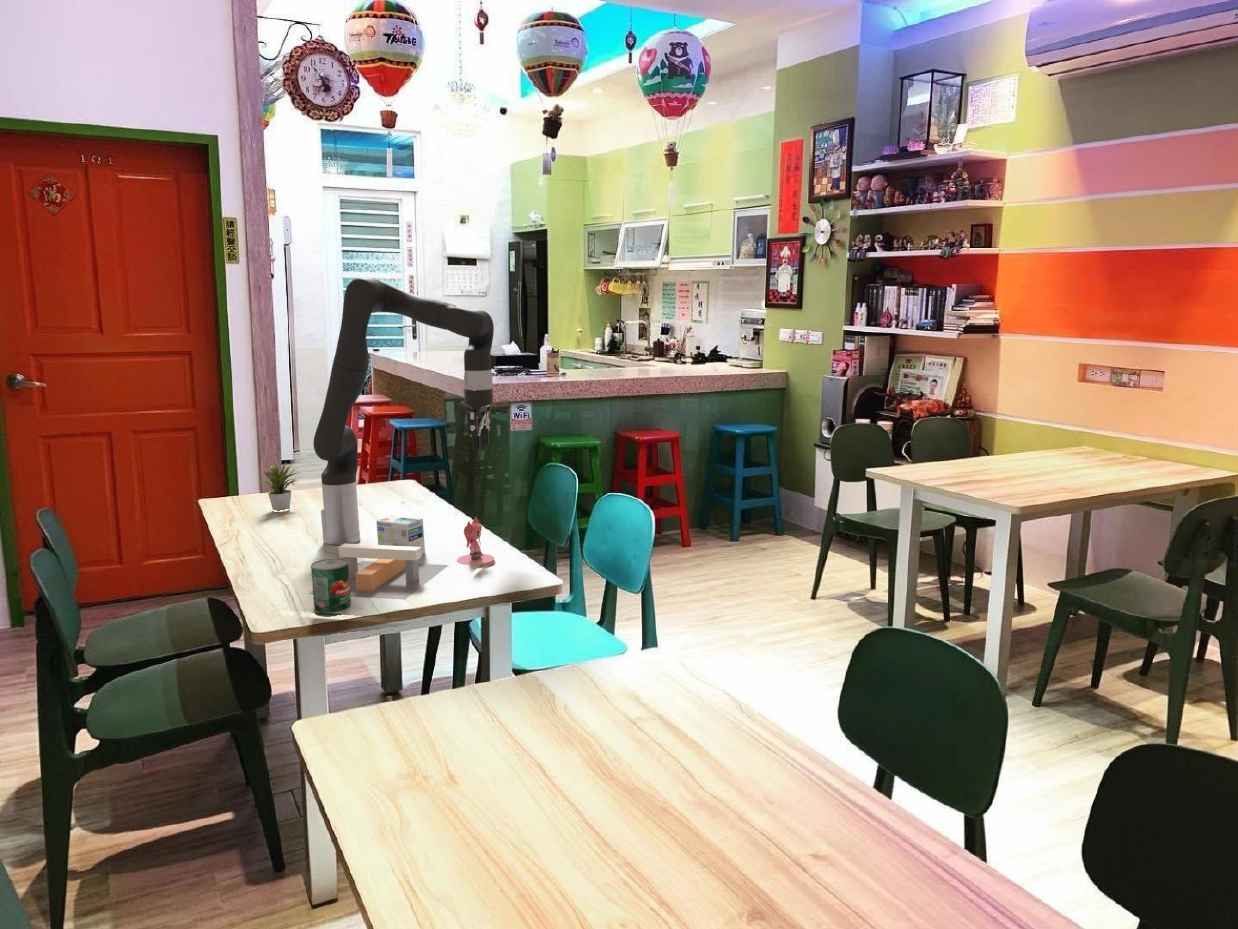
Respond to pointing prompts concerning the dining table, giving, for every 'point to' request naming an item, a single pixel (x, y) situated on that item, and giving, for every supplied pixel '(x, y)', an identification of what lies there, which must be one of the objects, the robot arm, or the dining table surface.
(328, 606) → the canned tomato
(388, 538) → the light bulb box
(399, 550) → the cream bar
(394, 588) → the cable board
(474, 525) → the toy figure
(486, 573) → the dining table surface
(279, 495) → the house plant
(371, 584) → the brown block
